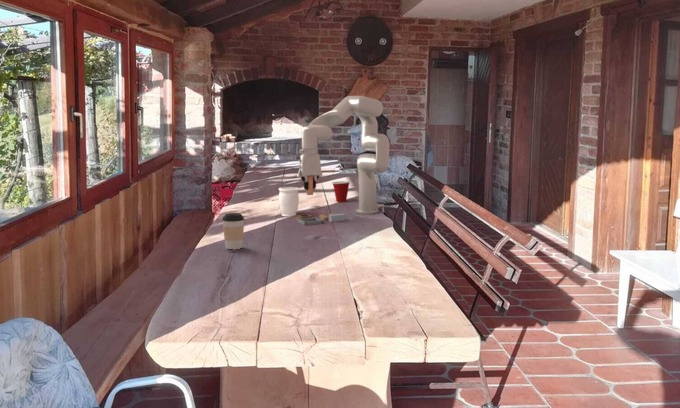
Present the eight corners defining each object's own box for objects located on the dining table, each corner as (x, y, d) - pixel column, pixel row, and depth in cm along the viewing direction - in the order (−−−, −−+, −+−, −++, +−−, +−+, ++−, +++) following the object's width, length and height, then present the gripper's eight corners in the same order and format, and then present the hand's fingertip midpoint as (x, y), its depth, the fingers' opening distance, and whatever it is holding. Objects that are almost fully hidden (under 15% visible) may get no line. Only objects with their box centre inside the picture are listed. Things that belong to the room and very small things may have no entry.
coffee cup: (224, 246, 290) (223, 211, 287) (245, 245, 291) (244, 211, 288) (222, 251, 281) (221, 215, 278) (244, 250, 282) (243, 215, 279)
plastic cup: (338, 199, 407) (338, 179, 405) (353, 201, 401) (353, 181, 399) (328, 201, 398) (328, 181, 396) (343, 203, 392) (343, 183, 390)
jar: (296, 218, 348) (295, 189, 346) (276, 218, 351) (276, 189, 348) (301, 214, 359) (300, 186, 356) (282, 214, 361) (282, 186, 358)
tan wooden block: (333, 219, 349) (333, 213, 348) (339, 222, 341) (339, 216, 341) (319, 220, 346) (319, 214, 345) (324, 223, 339) (324, 217, 338)
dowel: (311, 193, 333) (311, 173, 331) (314, 194, 330) (314, 174, 329) (305, 194, 332) (305, 174, 330) (308, 195, 329) (308, 174, 327)
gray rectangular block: (342, 221, 342) (342, 213, 341) (345, 222, 339) (345, 214, 338) (328, 222, 338) (328, 214, 337) (331, 223, 335) (331, 215, 335)
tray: (315, 222, 340) (315, 217, 339) (323, 225, 332) (323, 220, 331) (297, 223, 335) (297, 219, 335) (304, 227, 327) (304, 222, 327)
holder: (308, 219, 347) (308, 213, 347) (315, 221, 340) (315, 216, 340) (294, 220, 344) (294, 214, 343) (300, 223, 337) (300, 217, 336)
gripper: (297, 153, 320) (297, 191, 323) (328, 151, 328) (328, 189, 331) (290, 152, 327) (291, 189, 330) (321, 150, 334) (321, 187, 337)
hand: (309, 189), depth 330 cm, fingers closed on dowel, 3 cm apart
